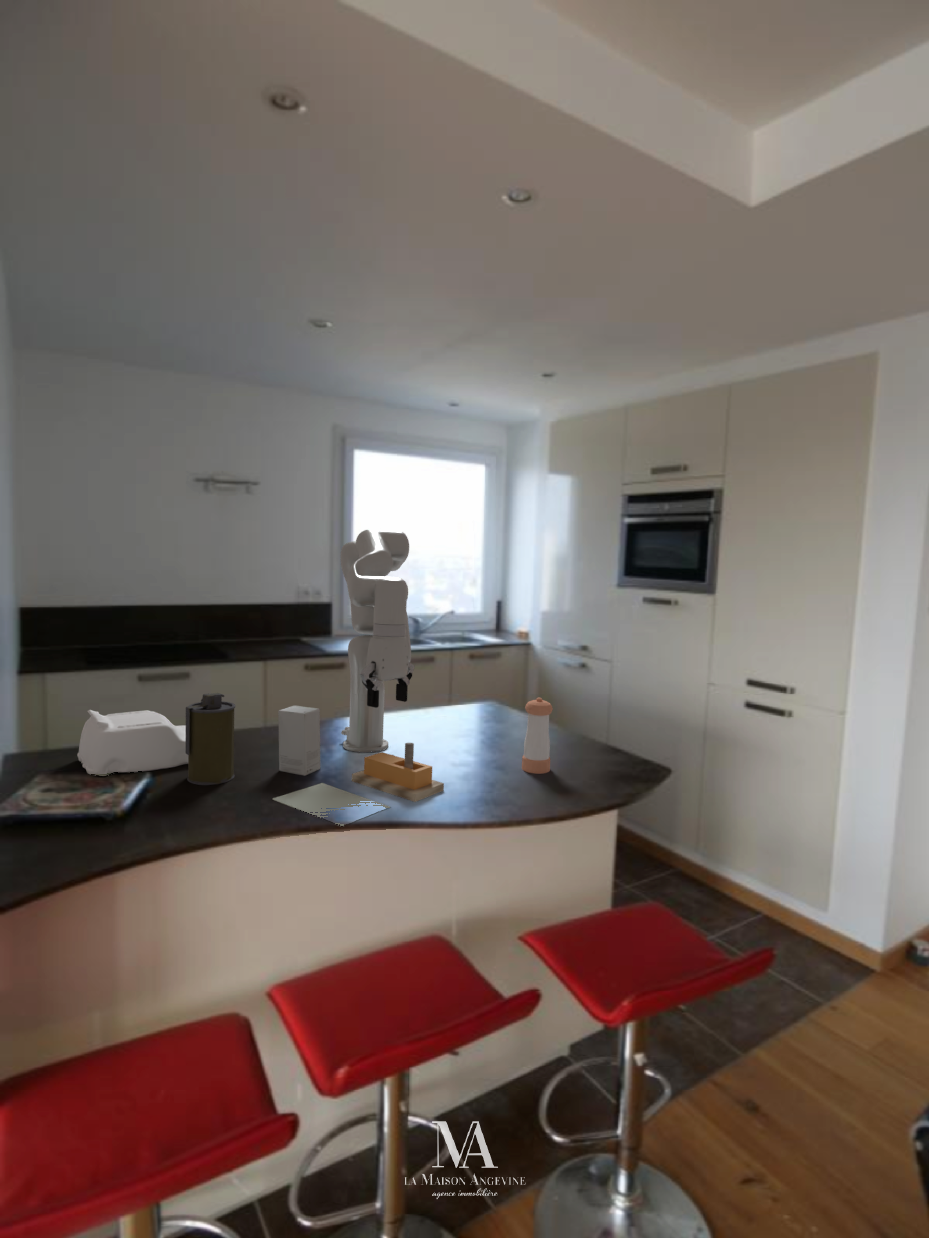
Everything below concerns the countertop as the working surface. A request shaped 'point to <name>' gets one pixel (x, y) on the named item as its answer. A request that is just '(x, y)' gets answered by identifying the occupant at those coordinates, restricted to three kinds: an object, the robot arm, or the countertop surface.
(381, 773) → the link
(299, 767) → the skincare box
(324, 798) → the mat
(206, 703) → the canister
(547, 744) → the pepper shaker
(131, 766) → the white toaster
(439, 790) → the peg base
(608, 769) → the countertop surface
